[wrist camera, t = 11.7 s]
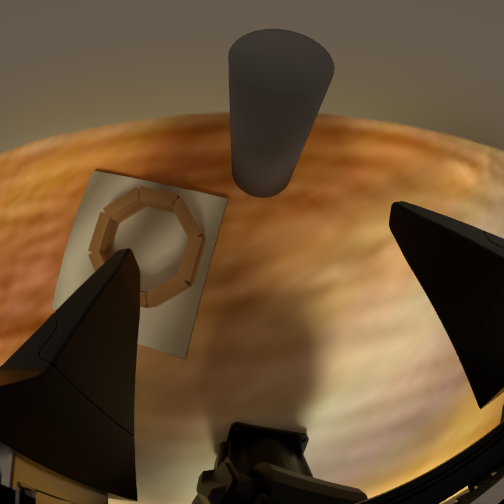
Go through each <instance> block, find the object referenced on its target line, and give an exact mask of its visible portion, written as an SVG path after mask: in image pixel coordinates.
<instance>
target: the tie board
mask: <svg viewBox="0 0 504 504" xmlns="http://www.w3.org/2000/svg"><path fill="white" fill-rule="evenodd" d="M227 202H228V199H227V198H223V197H219V196H215V195H210V194H206V193H202V192H197V191H193V190H188V189H184V188H179V187H175V186H170V185H165V184H160V183H156V182H151V181H146V180H141V179H136V178H131V177H126V176H120V175H115V174H110V173H104V172H99V171H93V173H92V175H91V177H90V180H89V182H88V185H87V188H86V190H85V193H84V195H83V198H82V201H81V204H80V206H79V209H78V212H77V215H76V218H75V221H74V224H73V227H72V230H71V233H70V237H69V240H68V243H67V247H66V250H65V254H64V258H63V261H62V265H61V269H60V273H59V277H58V281H57V286H56V290H55V295H54V300H53V305H52V308H53V309H55V310H57V309H58V308H59V307H60V306H61V305H62V304H63V303H64V302H65V301H66V300H67V299H68V298H69V297H70V296H71V295H72V294H73V293H74V292H75V291H76V290H77V289H78V288H79V287H80V286H81V285H82V284H83V283H84V282H85V281H86V280H87V279H88V278H89V277H90V276H91V275H92V274H93V273H94V272H95V271H96V270H97V269H99V268H100V267H101V266H102V265H103V264H104V263H105V262H106V261H107V260H108V259H109V258H110V257H112V256H113V255H114V254H115V253H116V252H117V251H118V250H121V249H126V248H130V249H131V250H132V251H133V254H134V256H135V259H136V261H137V264H138V266H139V269H140V321H139V332H138V343H137V344H140V345H143V346H146V347H148V348H151V349H154V350H157V351H160V352H163V353H166V354H170V355H173V356H176V357H179V358H182V359H186V356H187V352H188V348H189V344H190V340H191V336H192V331H193V327H194V323H195V319H196V315H197V312H198V308H199V304H200V300H201V296H202V292H203V288H204V285H205V281H206V277H207V273H208V270H209V266H210V262H211V259H212V255H213V251H214V248H215V244H216V240H217V237H218V233H219V230H220V226H221V223H222V219H223V216H224V212H225V209H226V206H227Z"/></svg>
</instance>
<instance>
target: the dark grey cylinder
mask: <svg viewBox="0 0 504 504" xmlns="http://www.w3.org/2000/svg"><path fill="white" fill-rule="evenodd" d="M333 74H334V63H333V60H332V58H331V56H330V55H329V53H328V52H327V51H326V50H325V49H324V48H323V47H322V46H321V45H320V44H319V43H317V42H316V41H314V40H313V39H311V38H309V37H307V36H305V35H302V34H299V33H296V32H292V31H288V30H281V29H265V30H259V31H254V32H251V33H248V34H246V35H244V36H242V37H241V38H239V39H238V40H237V41H236V42H235V43H234V44H233V45H232V47H231V48H230V51H229V91H230V93H229V94H230V126H231V153H232V174H233V178H234V180H235V182H236V184H237V185H238V187H239V188H240V189H241V190H243V191H244V192H245V193H247V194H249V195H252V196H255V197H271V196H274V195H276V194H278V193H280V192H281V191H282V190H284V189H285V187H286V186H287V185H288V183H289V181H290V178H291V176H292V174H293V171H294V169H295V167H296V164H297V162H298V159H299V157H300V155H301V152H302V150H303V147H304V145H305V143H306V140H307V138H308V135H309V133H310V131H311V128H312V126H313V123H314V121H315V118H316V116H317V114H318V111H319V109H320V106H321V104H322V101H323V99H324V97H325V94H326V92H327V89H328V87H329V85H330V82H331V80H332V77H333Z"/></svg>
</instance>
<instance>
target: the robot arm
mask: <svg viewBox="0 0 504 504" xmlns="http://www.w3.org/2000/svg"><path fill="white" fill-rule="evenodd" d="M389 227H390V230H391V232H392V234H393V236H394V237H395V239H396V241H397V243H398V245H399V247H400V249H401V251H402V253H403V255H404V257H405V259H406V261H407V263H408V264H409V266H410V268H411V269H412V271H413V273H414V274H415V276H416V278H417V279H418V281H419V283H420V284H421V286H422V288H423V289H424V291H425V293H426V295H427V296H428V298H429V300H430V302H431V304H432V305H433V307H434V309H435V311H436V313H437V315H438V317H439V319H440V320H441V322H442V324H443V326H444V328H445V330H446V332H447V334H448V336H449V338H450V340H451V342H452V344H453V347H454V349H455V351H456V353H457V355H458V357H459V360H460V362H461V364H462V367H463V369H464V371H465V373H466V376H467V378H468V381H469V383H470V385H471V388H472V390H473V393H474V396H475V398H476V401H477V403H478V406H479V408H480V409H482V408H483V407H485V406H486V405H487V404H489V403H490V402H491V401H493V400H494V399H495V398H497V397H498V396H499V395H501V394H502V393H503V392H504V239H503V238H501V237H498V236H496V235H493V234H491V233H488V232H486V231H484V230H483V231H482V230H481V229H479V228H476V227H474V226H471V225H469V224H466V223H463V222H461V221H458V220H456V219H453V218H450V217H447V216H445V215H442V214H439V213H436V212H434V211H431V210H428V209H425V208H422V207H419V206H416V205H413V204H410V203H407V202H404V201H400V202H394V203H393V204H392V206H391V213H390V219H389ZM139 321H140V269H139V266H138V264H137V261H136V259H135V256H134V254H133V251H132V250H131V249H130V248H126V249H121V250H118V251H117V252H116V253H115V254H114V255H113V256H112V257H110V258H109V259H108V260H107V261H106V262H105V263H104V264H103V265H102V266H101V267H100V268H99V269H97V270H96V271H95V272H94V273H93V274H92V275H91V276H90V277H89V278H88V279H87V280H86V281H85V282H84V283H83V284H82V285H81V286H80V287H79V288H78V289H77V290H76V291H75V292H74V293H73V294H72V295H71V296H70V297H69V298H68V299H67V300H66V301H65V302H64V303H63V304H62V305H61V306H60V307H59V308H58V309H57V310H56V311H55V313H53V314H52V315H51V316H50V317H49V318H48V319H47V320H46V321H45V323H44V324H43V325H42V326H41V327H40V328H39V329H38V330H37V331H36V332H35V333H34V334H33V335H32V336H31V337H30V338H29V339H28V340H27V341H26V342H25V343H24V344H23V345H22V346H21V347H20V348H19V349H18V350H17V351H16V352H15V353H14V354H13V355H12V356H11V357H10V358H9V359H8V360H7V361H6V362H5V363H4V364H3V365H2V366H1V367H0V504H108V498H112V499H119V500H128V501H137V486H136V471H135V444H134V437H133V436H134V397H135V373H136V356H137V343H138V332H139ZM234 427H239V428H240V429H239V430H235V429H234ZM301 438H305V439H304V440H300V439H301ZM308 440H309V438H308V436H307V435H306V434H304V433H298V432H290V431H283V430H277V429H271V428H265V427H260V426H254V425H249V424H244V423H240V422H235V423H233V424H232V425H231V428H230V431H229V435H228V438H227V442H222V443H220V447H219V450H218V454H217V457H216V461H215V464H214V470H208V471H203V472H202V474H201V475H200V476H199V480H198V484H197V493H198V494H197V496H196V497H195V499H194V500H193V502H192V504H439V503H441V502H442V501H444V500H446V499H447V498H449V497H451V496H452V495H454V494H455V493H457V492H458V491H460V490H461V489H463V488H464V487H466V486H467V485H468V488H469V490H470V492H469V493H466V494H464V495H462V496H460V497H458V498H457V499H455V502H456V503H454V504H504V405H503V409H502V415H501V421H500V424H499V425H497V426H496V427H495V428H494V429H492V430H491V431H490V432H488V433H487V434H486V435H484V436H483V437H482V438H480V439H479V440H478V441H476V442H475V443H473V444H472V445H470V446H469V447H467V448H466V449H465V450H463V451H461V452H460V453H458V454H457V455H455V456H454V457H452V458H450V459H449V460H447V461H446V462H444V463H442V464H440V465H439V466H437V467H435V468H434V469H432V470H430V471H428V472H426V473H424V474H423V475H421V476H419V477H417V478H415V479H413V480H411V481H409V482H407V483H405V484H402V485H400V486H398V487H396V488H394V489H392V490H389V491H387V492H385V493H382V494H380V495H377V496H375V497H372V498H370V499H368V498H367V496H366V494H365V493H364V492H362V491H361V490H360V489H358V488H353V487H348V486H344V485H340V484H335V483H331V482H327V481H324V480H320V479H316V478H313V476H312V473H311V471H310V469H309V466H308V464H307V462H306V459H305V457H304V455H303V454H304V451H305V448H306V446H307V443H308Z"/></svg>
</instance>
